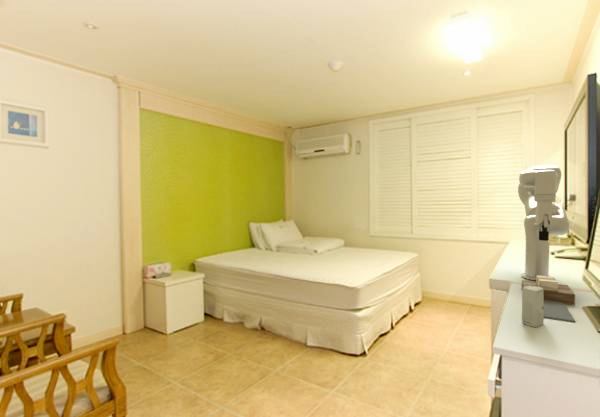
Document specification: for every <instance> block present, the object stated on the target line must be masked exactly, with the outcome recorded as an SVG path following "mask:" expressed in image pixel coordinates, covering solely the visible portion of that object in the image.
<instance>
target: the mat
mask: <svg viewBox="0 0 600 417" xmlns="http://www.w3.org/2000/svg"><path fill="white" fill-rule="evenodd" d="M543 313H544V314H543V315H544V316H543V319H550V320H557V321H562V322H563V321H565V322H571V323H576V320H575V318H574V317H573V315H572V314H571V312H570V310H569V308H568V307H567V306H566V304H564V303H563V302H556V301H548V300H544V312H543Z"/></svg>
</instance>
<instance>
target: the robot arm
mask: <svg viewBox="0 0 600 417" xmlns="http://www.w3.org/2000/svg"><path fill="white" fill-rule="evenodd" d="M561 179H562V171H561V168H560V167H559V166H557V165H543V166H542V165H538V166H536V165H535V166H533V167H530V168H528V169H525V170H522V171H521V172H520V173H519V176H518V181H519V184H518V186H517V194H518V197H519V200H520V201H521V203H522V204H523V205H524V211H525V216H526V217H525V218H524V220H523V226H524V235H525V260H524V262H525V263H524V272H523V273H521V275H520V276H521V277H522V278H523V279H525V278H526V280H529V279H530V280H529V281H535V280H536V275H539V276H549V277H552V276H551V275H549V274H550V273H549V272H550V271H549V269H550V243H549V240H550V239H549V236H551V235H552V236H564V235H566V234H568V233H569V230H570V223H569V222H570V221H569V219H568V216H567V213H566V210H565V207H564V206H563V205H562V204H560V203H559V204H558V203H556V200H557V199H556V198H557V197H556V196H557V195H556V194H557V192H558V190H559V186H560V182H561Z"/></svg>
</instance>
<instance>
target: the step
mask: <svg viewBox="0 0 600 417" xmlns="http://www.w3.org/2000/svg"><path fill="white" fill-rule="evenodd" d="M530 285H531V286H536V287H538V286H537V284H536V281H534V280H524V279H523V280H521V288H520V289H521V290H522V288H524V287H526V286H530ZM543 295H544V300H548V301H556V302H563V303H564V304H565V305H574V306H575V302H576V298H575V297H576V294H575V293H574V292H573V290H572V289H571V288H570V286H569V285H568V284H560V283H558V291H550V290H543Z"/></svg>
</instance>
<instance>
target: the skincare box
mask: <svg viewBox="0 0 600 417" xmlns="http://www.w3.org/2000/svg"><path fill="white" fill-rule="evenodd" d="M543 289H544V288H541V287H536V286H531V285H530V286H526V287H524V288H522V289H521V292H522V293H521V295H522V296H521V323H522V324H524V325H525V326H526V325H527V326H529V327H533V328H537V327H540V326H542V325H543V324H544V318H543V316H544V315H543V314H544V313H543V312H544V295H543Z"/></svg>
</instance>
